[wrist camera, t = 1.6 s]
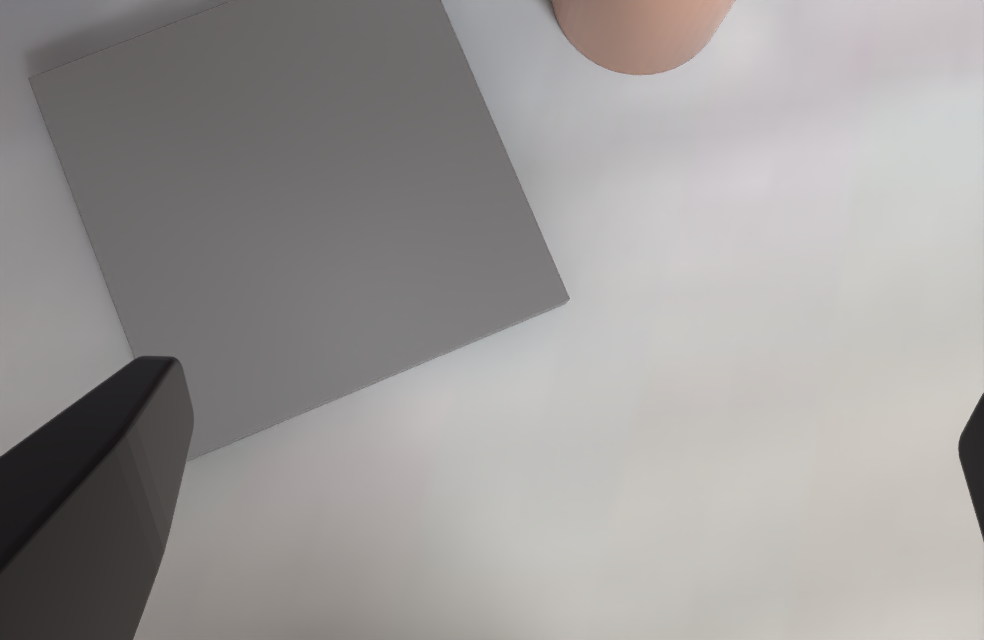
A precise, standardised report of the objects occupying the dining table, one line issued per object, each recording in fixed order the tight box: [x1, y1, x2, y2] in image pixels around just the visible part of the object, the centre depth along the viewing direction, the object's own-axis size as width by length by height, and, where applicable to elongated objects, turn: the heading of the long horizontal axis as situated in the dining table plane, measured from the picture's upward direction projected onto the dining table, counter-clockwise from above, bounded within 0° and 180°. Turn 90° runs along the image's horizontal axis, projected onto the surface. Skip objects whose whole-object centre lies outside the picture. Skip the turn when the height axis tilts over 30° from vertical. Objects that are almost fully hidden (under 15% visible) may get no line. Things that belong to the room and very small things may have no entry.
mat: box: [28, 0, 570, 461], centre depth 23 cm, size 11×11×1 cm
